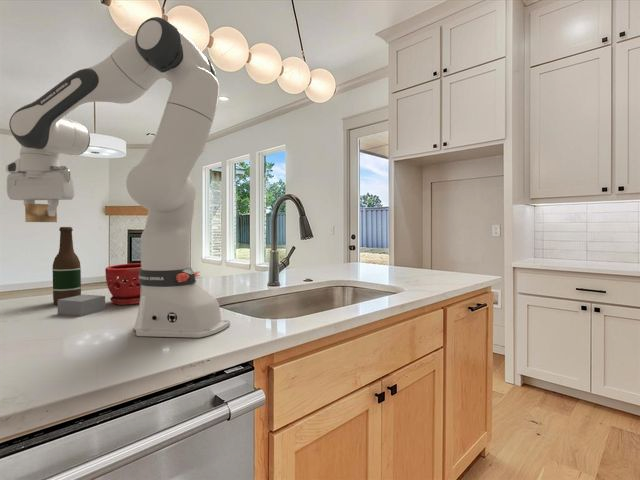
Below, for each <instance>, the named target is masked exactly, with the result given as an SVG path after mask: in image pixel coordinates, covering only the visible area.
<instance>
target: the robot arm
mask: <svg viewBox="0 0 640 480" xmlns="http://www.w3.org/2000/svg"><path fill="white" fill-rule="evenodd" d="M136 30H137V32H136V33H135V35H133V36H132V37H131V36H130V37H129V39H127V40H125V42H123V43H122V44H120V46H118V47H117V48H116V49H115V50H114V51H113V52H111V54H110V55H109V56H107V57H106V58H105V59H103V60H102V61H100V62H98V63H96V64H95V65H93V66H90V67H88V68H83V69H79V70H77V71H75V72H72V74H70V75H69V76H67V77H66V78H64V79H62V81H60V82H59V83H57V84H56V85H55V86H54V87H51V88H50V90H48V91H46V92H45V93H44V94H43V95H41V96H40V97H39V98H37V99H36V100H34V101H33V102H31V103H28V104H26V105H24V106H21V107H20V108H18V109H17V110H15V112H14V113H13V114H12V115H11V117H10V119H9V125H8V126H9V130H10V132H11V134H12V136H13V138H14V139H15V140H16V141H17V142H18V143H19V145H21V146H20V150H19V158H16V159H15V160H14V161H12V162H10V163H8V164H7V165H6V167H5V171H6V173H8V174H7V176H6V192H7V196H8V199H9V200H12V201H23V205H24V206H25V204H36V201H47V204H49V206H48V209H47V210H45V215H46V216H55V210H56V208H58V206H59V201H68V200H69V201H72V200H73V199H74V197H75V189H74V187H75V186H74V181H73V177H72V174H71V170H70V169H69V167H67V166H66V165H60V154H63V155H67V156H80V155H83V154H84V153H86V152H87V150H88V148H89V147H90V144H91V143H90V142H91V137H90V136H91V135H90V132H89V129H88V128H87V127H86V126H85V124H83V123H80V122H78V121H76V120H73V119H70V118H67V117H66V116H67V115H69V114H70V113H72V111H74V110H75V109H76V108H78V107H79V106H81V105H84V104H87V103H92V102H94V103H95V102H96V103H97V102H101V103H102V102H103V103H114V104H122V105H123V104H125V105H126V104H131V103H133V102H134V101H136V100H138V99H140V98H141V97H143V96H144V94H145V93H146V92H147V91H148V90H150V88H151V87H153V85H155V83H156V82H157V81H158V80H160V79H165V80H167V81H168V82H170V83H171V89H170V93H169V95H168V98H167V100H166V105H165V107H164V110H163V112H162V117H161V119H160V123H159V125H158V127H157V131H156V134H155V136H154V138H153V139H152V141H151V143H150V145H149V147H148V148H147V150H146V151H145V153H144V155H143V157H141V160H140V162H139V163H137V165H135V166H134V167H132V169H130V171H129V172H128V174H127V177H126V183H125V185H126V190H127V192H128V195H129V197H131V199H132V200H133V201H134V202H135V203H137V204H138V205H139V206H141V207H142V208H144V209H147V216H146V221H145V226H144V229H143V231H142V233H141V234H140V235H141V236H140V263H141V269H140V270H139V284H140V287H141V292H140V302H139V303H138V310H137V316H136V320H135V323H134V326H133V330H134V331H135V336H137V337H154V338H155V337H156V338H157V337H164V338H195V339H196V338H204V337H207V336H212V335H214V334H217V333H219V332H221V331H223V330H224V329H227V328H228V327H229V326H230V325H231V321H230V318H227V317H222V315H221V308H220V304H219V302H218V300H217V298H216V297H214V296H213V295H212V294H211V293H209V292H208V291H207V290H206V289H204V288H203V287H202V286H200V285H199V284H198V283H197V278H196V277H200V274H199V273H200V271H199V270H198V271H193V269H192V267H191V266H190V263H191V262H190V261H191V260H190V259H191V258H190V257H191V256H190V255H191V252H190V251H191V249H190V247H191V244H190V240H191V239H190V238H191V237H190V236H191V228H192V223H193V217H194V215H193V214H194V209H195V208H194V205H195V200H196V195H197V194H196V193H197V192H196V188H195V185H194V183H193V181H192V180H191V178H190V177H189V176H190V174H191V173H192V170H193V168H194V167H195V164H196V162H197V160H198V159H199V158H200V157H201V155H202V154H203V152H204V150H205V147H206V144H207V140H208V138H209V135H210V133H211V132H210V131H211V128H212V125H213V122H214V119H215V116H216V111H217V106H218V101H219V95H220V85H219V84H220V83H219V82H218V79H217V73H216V70H215V67H214V65H213V64H212V62H211V61H210V59H208V57H206V56H205V55H204V54H203V53H202V51H201V50H200V49H199V48H198V46H196V44H195V43H194V42H193V41H192V40H191V39H190V38H188V36H186V35H185V34H184V33H183V32H181V31H180V30H179V29H178V28H177V27H176V26H175V25H174V24H173V23H172V22H169V21H168V20H166V19H164V18H162V17H159V16H153V17H150V18H147V19H146V20H145V21H143V22H142V23H141V24H140V25H139V27H138V29H136Z"/></svg>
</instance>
